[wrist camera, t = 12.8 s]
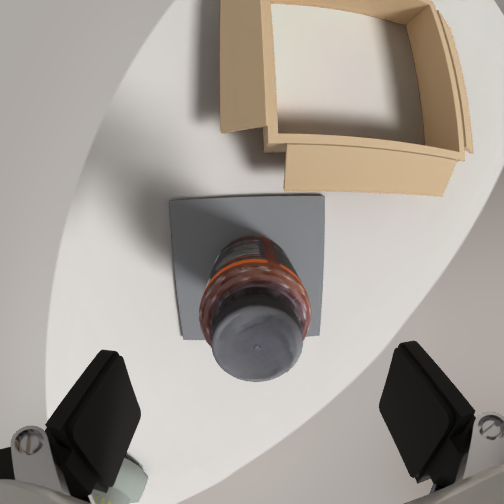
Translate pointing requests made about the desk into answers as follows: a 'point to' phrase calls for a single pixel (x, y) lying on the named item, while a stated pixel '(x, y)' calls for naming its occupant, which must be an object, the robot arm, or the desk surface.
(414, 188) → the carton
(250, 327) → the supplement bottle
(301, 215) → the mat
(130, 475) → the air freshener
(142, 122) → the desk surface
